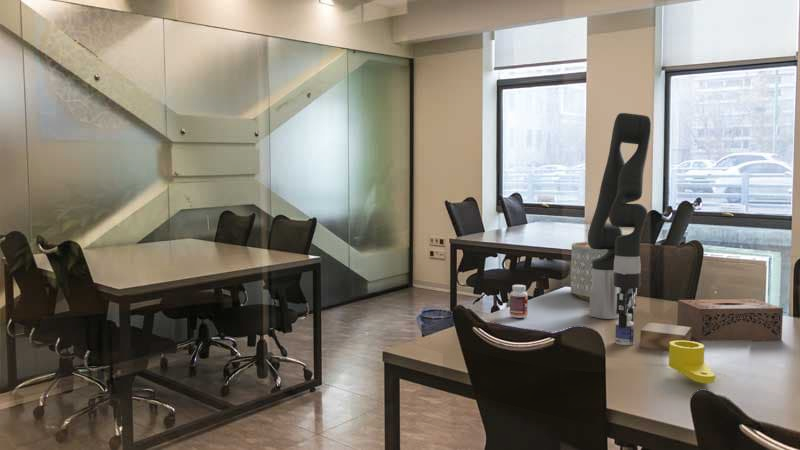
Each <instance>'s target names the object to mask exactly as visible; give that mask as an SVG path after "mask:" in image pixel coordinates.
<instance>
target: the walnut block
mask: <svg viewBox="0 0 800 450" xmlns="http://www.w3.org/2000/svg"><path fill="white" fill-rule="evenodd" d="M639 339H640V340H639V341H640V343H639V347H640V348H645V349H652V350H660V351H666V352H667V351H668V352H669V343H670V342H671V341H676V340H684V341H692V337H691V327H685V326H677V325H676V324H667V323H659V322H648V323H647V324H645V326H643V327H642V328H641V329H640V337H639Z"/></svg>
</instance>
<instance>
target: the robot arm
mask: <svg viewBox="0 0 800 450" xmlns="http://www.w3.org/2000/svg"><path fill="white" fill-rule="evenodd" d="M651 135H652V119H651V117H650V116H648V115H645V114H637V113H636V114H635V113H629V112H627V113H626V112H620V113H618V114H617V115H616V117H615V120H614V124H613V128H612V132H611V140H610V144H609V153H608V155H607V161H606V163H605V164H606V165H605V168H604V172H603V175H602V179H601V185H600V187H599V188H600V190H599V194H598V198H597V199H598V200H597V202H596V207H595V210H594V214H593V217H592V219H591V222H590V225H589V227H588V228H589V230H588V234H587V242H588V244H589V246H590V247H591V248H592V249H599V250H602V249H608V252H607V253H606V254H605V255H604V256H602V257H600V258H597V259H595V260H593V262H592V289H591V290H590V300H589V311H588V312H589V314H588V315H589V317H592V318H597V319H604V320H613V319H614V320H615V319H618V315H619V319H618V320H619V328H626V327H627V314H628V313H630V314H632V319H631V321H632V322H633V323H634V313H635V312H634V310H635V309H636V306H637V300H636V299H637V295H636V288H637V289H639V288H640V287H641V269H642V265H641V263H642V262H641V241H642V240H641V239H642V236H643V231H644V229H645V226H646V223H647V220H648V209H647V208H646V206H645V205H644V204H643V203H634V202H636V201H639V200H640V199H641V198H642V196H643V185H644V184H643V183H644V170H645V166H646V161H647V157H648V151H649V147H650V145H649V144H650V140H651ZM623 143H624V144H630V145H631V144H632V145H637V147H636V150H635V152H634V153H633V154H632V156H630V158H629V159H628V160H627V161H626V160H625V158H624V155H623V151H622V147H621V146H622V144H623ZM632 202H633V203H632ZM608 219H609V222H610V223H609V222H608V223H607V221H608ZM622 228H633V231H632V232H631V233H628V234H623V232H622ZM619 288H621V290H620V293H619Z"/></svg>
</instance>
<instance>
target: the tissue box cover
mask: <svg viewBox="0 0 800 450" xmlns="http://www.w3.org/2000/svg"><path fill="white" fill-rule="evenodd" d="M783 316H784V308H783V307H780V306H778V305H774V304H772V303H768V302H765V301H761V300H758V299H755V298H753V299H751V298H749V299H745V298H744V299H737V298H736V299H678V300H677V322H676V324H677V325H676V326H685V327H691V338H693V339H695V340H697V341H699V342H700V341H702V342H703V341H752V342H754V341H756V342H764V341H768V342H769V341H771V342H772V341H775V342H776V341H783V339H782V338H783V337H782V336H783V320H784V319H783Z"/></svg>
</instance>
